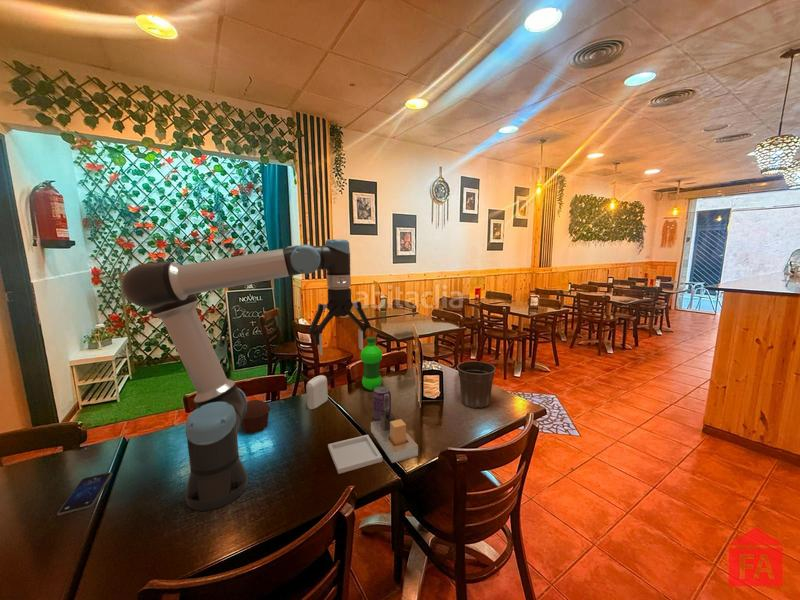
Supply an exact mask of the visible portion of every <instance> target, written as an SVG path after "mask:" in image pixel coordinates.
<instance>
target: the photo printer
mask: <svg viewBox="0 0 800 600" xmlns="http://www.w3.org/2000/svg"><path fill="white" fill-rule="evenodd" d="M305 387H306V388H305V389H306V404H307V405H306V406H307V408H308V409H309V410H314V409H316V408H319V407H320V406H321V405H323V404H325V403H326V402H328V400H329V399H328V398H329V394H328V390H329V389H328V379H327V376H326V375H323V374H322V375H317V376H315V377H313V378H311V379H310V380H308V381H307V383H306V385H305Z"/></svg>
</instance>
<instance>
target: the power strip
mask: <svg viewBox="0 0 800 600" xmlns="http://www.w3.org/2000/svg"><path fill="white" fill-rule="evenodd" d="M380 416H381V420H379V421H377V420H375V421H371V422H370V432H371V433H372V435H373V437H374V438H375V439H376V441H377V443H378V444H379V446H380V447H381V449H382V451H384V453H385V455H386V456H387V457H388V459H389V461H390V462H391V464H393V463H397V462H401V461H404V460H407V459H411V458H412V459H413V458H415V457H418V456H419V445H418V444H417V442H415V440H414V438H413V437H412V436H411V435H410V434H409V433H407V431H406V443H405V444H401V445H397V446H393V444H392V443H391V442H390V421H395V420H397V419H396V416H394V414H393V413H392V412H391V413H390V409H386V414H382V415H380Z"/></svg>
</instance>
